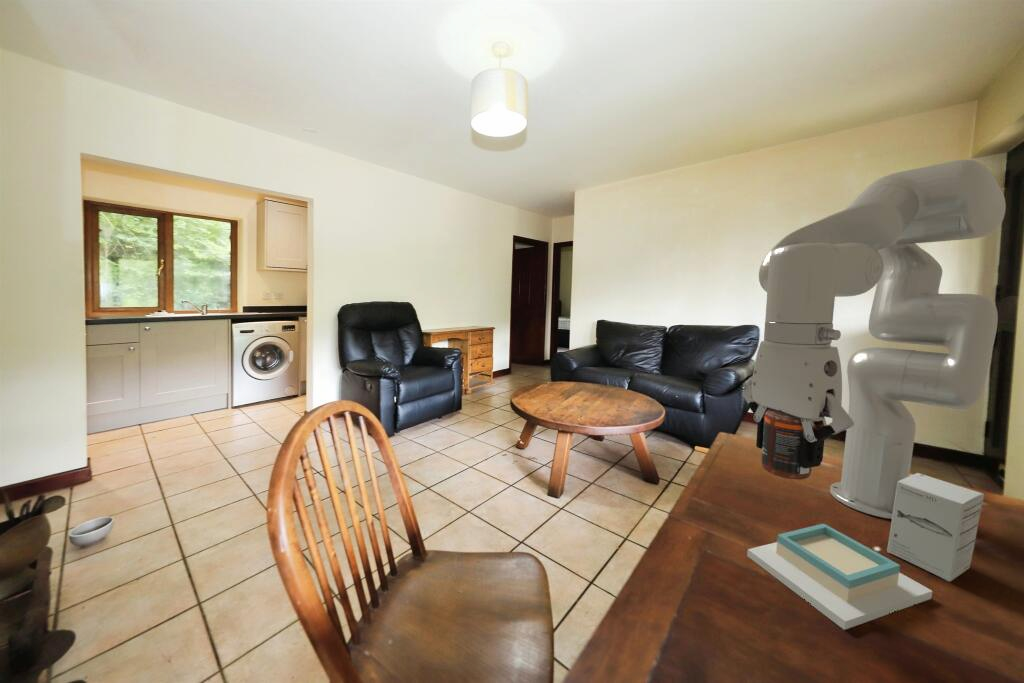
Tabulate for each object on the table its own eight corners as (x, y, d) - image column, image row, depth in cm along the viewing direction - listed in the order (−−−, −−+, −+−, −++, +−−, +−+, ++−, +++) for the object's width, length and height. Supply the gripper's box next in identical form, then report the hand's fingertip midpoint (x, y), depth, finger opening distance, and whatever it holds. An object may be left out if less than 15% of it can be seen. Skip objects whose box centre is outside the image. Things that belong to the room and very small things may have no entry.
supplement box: (884, 552, 61) (894, 480, 60) (907, 540, 64) (917, 471, 63) (950, 584, 55) (963, 503, 53) (972, 569, 57) (985, 492, 56)
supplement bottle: (820, 483, 52) (827, 404, 50) (771, 479, 53) (777, 402, 51) (797, 463, 57) (803, 392, 56) (754, 460, 59) (759, 391, 57)
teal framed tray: (823, 536, 65) (825, 513, 65) (931, 598, 52) (935, 569, 51) (747, 556, 61) (749, 531, 60) (844, 629, 47) (848, 598, 47)
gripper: (890, 340, 45) (874, 480, 48) (762, 327, 62) (754, 431, 64) (845, 344, 43) (830, 490, 46) (724, 329, 60) (719, 437, 62)
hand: (786, 454), depth 55 cm, fingers closed on supplement bottle, 5 cm apart
